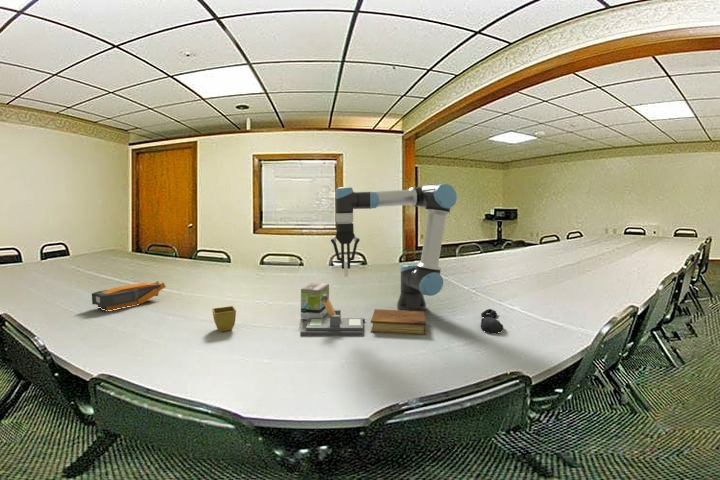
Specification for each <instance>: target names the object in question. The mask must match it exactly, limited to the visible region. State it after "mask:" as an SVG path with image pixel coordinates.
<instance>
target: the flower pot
mask: <svg viewBox="0 0 720 480" xmlns="http://www.w3.org/2000/svg"><path fill="white" fill-rule="evenodd" d="M211 310H212V316H213V322H214V324H215V327H216V328H217V331H218V332H219V333H222V332H227V331H228V332H229V331H232V330H233V328H234V327H235V325H236V324H235V323H236V315H237V309H236V308H235V307H234V306H233V305H231V306H223V307H215V308H212V309H211Z"/></svg>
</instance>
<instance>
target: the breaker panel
mask: <svg viewBox="0 0 720 480" xmlns="http://www.w3.org/2000/svg"><path fill="white" fill-rule="evenodd" d="M333 309H334V308H333ZM334 311H335V313H336V315H330V316H329V317H322V318H310V319H309V322H308V321H307V324H306V327H305V331H363V332H364V322H363V317H342V316H341V315H342V314H341V309H340V308H339V309H338V308H337V309H336V308H335V309H334Z"/></svg>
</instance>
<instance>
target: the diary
mask: <svg viewBox="0 0 720 480" xmlns="http://www.w3.org/2000/svg"><path fill="white" fill-rule="evenodd" d="M371 316H372V317H371V319H370V324H372V326H371V330H370V333H371V334H373V333H374V334H390V335H391V334H394V335H395V334H396V335H411V336H413V335H414V336H426V313H425V310H424V311H405V310H399V309H381V308H380V309H379V308H377V309H374V310H373V313H372V315H371Z"/></svg>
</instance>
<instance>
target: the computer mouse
mask: <svg viewBox="0 0 720 480" xmlns="http://www.w3.org/2000/svg"><path fill="white" fill-rule="evenodd" d="M480 315H481V321H480V329H481V331H482V332H484V331H485V332H484V333H486V332H489V333H488V334H491V333H496V334H499V333H498V332H501V331H502V330H504V325H503V324H502V323H501V321H500V320H498V319H496V316H498V313H497V310H494V309H492V308H488V309H485V310H483V312H481V313H480ZM482 317H484V318H482ZM492 317H493V318H492ZM502 332H503V331H502ZM502 332H501V333H502Z"/></svg>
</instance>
